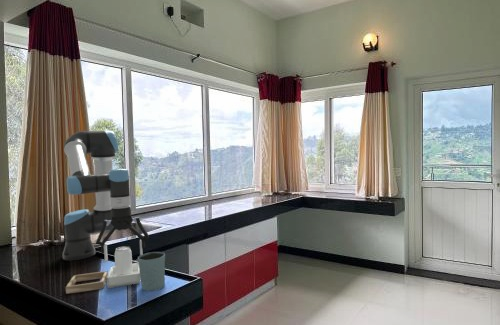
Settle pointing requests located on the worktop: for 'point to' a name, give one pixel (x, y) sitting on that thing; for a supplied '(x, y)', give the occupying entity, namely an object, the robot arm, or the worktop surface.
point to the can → (123, 261)
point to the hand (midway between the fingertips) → (124, 258)
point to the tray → (123, 277)
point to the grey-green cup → (152, 270)
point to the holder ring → (89, 286)
